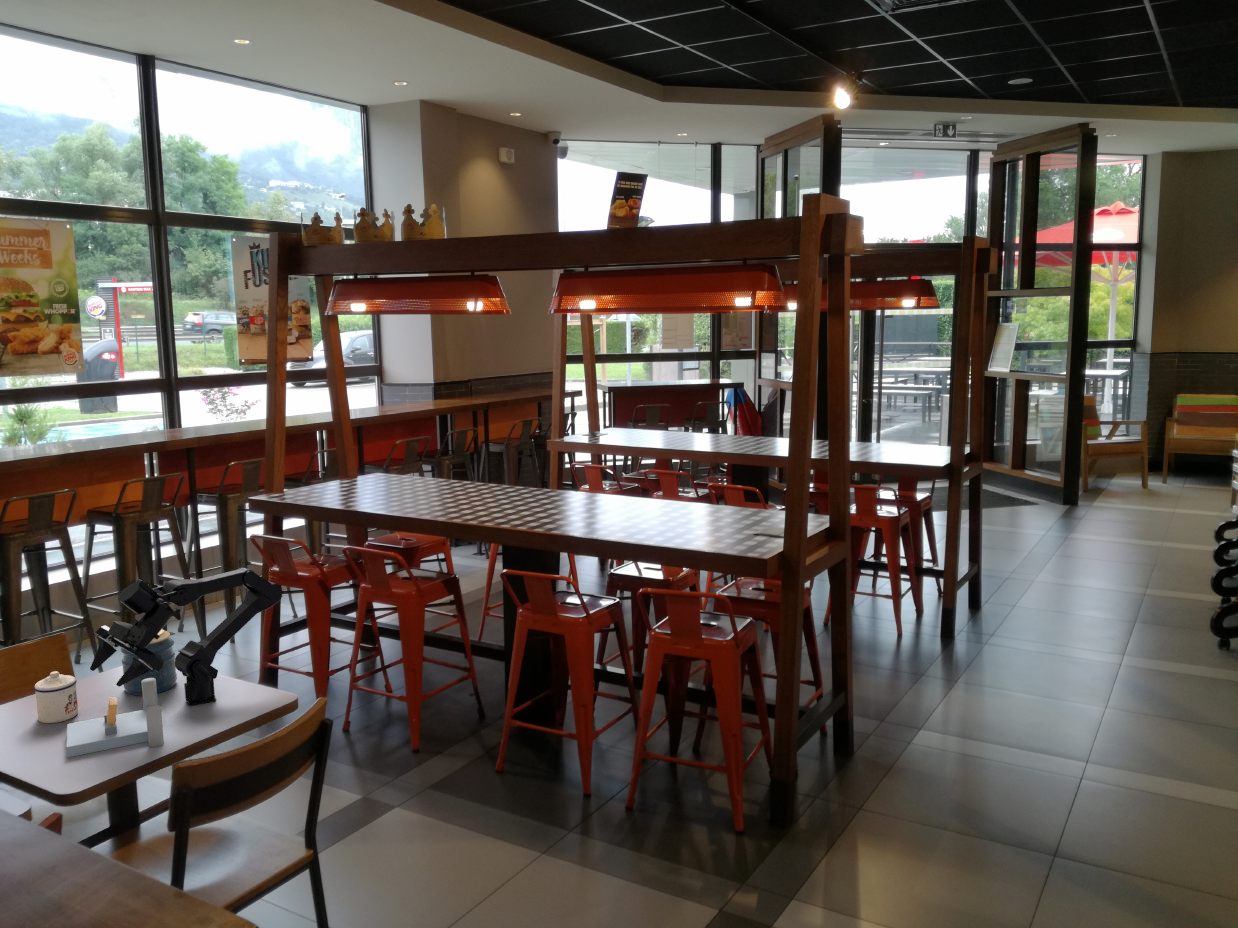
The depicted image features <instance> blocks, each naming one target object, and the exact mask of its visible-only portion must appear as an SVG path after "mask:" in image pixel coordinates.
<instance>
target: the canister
mask: <svg viewBox="0 0 1238 928" xmlns="http://www.w3.org/2000/svg"><path fill="white" fill-rule="evenodd" d="M158 635H159V636H160V637H159V638H158V639H155V638H154V639H153V640H152V641H151V642H150V644H149V645H148V646H147V647H146V649H148V650H149V651H151V652H153V653H155V654H156V655H157V656H159V657H160V658H161V659H162V660H163V661H164V664H163V667H162V668H161V669H160V671H159V672H157V671H156V670H154V669H152V670H153V672H152V673H151V672H148V673H146V674H144V675H141V676H139V677H137V678H135V679H133V680H131V681H129V682H127V683H125V684H124V685H123V688H124V691H125V693H126V694H128V695H131V696H143V694H142V682H141V681H142V680H144V679H147V678H155V679H156V690H157V694H159V693H162V692H166V691H168V690H170V689H171V688H173V687H174V686H175V685H177V679H178V676H177V675H178V674H177V669H176V667H175V658H176V652H175V651H174V649H173V646H174V644H175V640H174V639H173V638H170V637H171V633H170V632H169V631H167V630H165V629H163V628H162V629H161V631H160V632H159V633H158ZM127 645H128V644H127ZM126 647H127V646H126ZM133 649H134V650H136V648H135V647H134V648H133ZM119 651H120V652H121V653H122V655H123V656H122V659H121V664H122V673H123V674H124V673H125V672H126V671H127V670H128V668H129V667H130V666H131V664H132V660H133V657H134V658H136V659H137V660H139V658H138V657H137V656H136V655H134V654H132V653H130V652H129V651H127V650H125V649H123V648H122V647H120V650H119ZM123 674H122V675H123Z"/></svg>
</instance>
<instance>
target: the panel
mask: <svg viewBox="0 0 1238 928" xmlns="http://www.w3.org/2000/svg"><path fill="white" fill-rule="evenodd" d="M66 726H67V727H66V731H67V732H66V757H67V758H72V757H76V756H82V755H86V754H91V753H96V752H101V751H106V750H111V749H116V748H121V747H126V746H131V745H136V744H141V743H145V742H146V743H147V742H148V732H147V720H146V709H145V710H144V709H139V710H134V711H130V712H124V713H119V714H116V720H115V724H107V712H104V713H103V716H102V717H96V718H92V719H87V720H81V721H75V722H70V723H67V725H66Z"/></svg>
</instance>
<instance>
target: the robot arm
mask: <svg viewBox="0 0 1238 928" xmlns="http://www.w3.org/2000/svg"><path fill="white" fill-rule="evenodd" d="M241 586H243V587H244V588H245V589H247V590H248V591H247V592H246V595H245V597H244V599H243V601H242V603H240V605H239V606H238V607H236V609H234V610H233V611H232V612H231V613H230V614H229V615H227V617H226V618H224V619H223V620H222V622H220V623H219V624H218V625H216V627H215V628H214V629H213V630H212V631H211V632H209V634H207V636H205V637H204V638H203V639H202V640H200V641H197V642H196V641H195V640H189V641H188V642H187V643H186V645H185V646H184V647H182V648H181V649H179V650H178V653H177V655H175V668H176V671H177V670H178V672H181V674H182V676H184V677H186V678H185V681H186V682H185V683H184V684H183V685H184V698H185V702H188V706H195V705H200V704H201V705H202V704H204V703H210V702H215V700H216V701H217V698H216V694H215V682H214V681H215V679H216V678H217V677H218V672H219V670H218V669H217V668H215V667H213V665H212V664H213V662H214V660H215V658H216V655H217V653H218V652H219V651H220V650H221V648H223V647H224V646H225V645H226V644H227V643H228V642H229V641H230V640H231V639H232V638H233V637H234V636H236V634H237V633H238V632H239V631H240V630H242V628H244V627H245V626H246V625H247V624H248V623H249V622H250V621H251V620H252V619H253V618H254V617H255V616H256V615H257V614H260V613H261V612H264V611H266V610H269V609H271V608H272V607H274V605H276V604H278V603H280V601H281V600H282V598H283V589H282V586H281V585H280V584H277V583H275V582H272V581H269V580H266V579H265V578H264V577H262V576H260V575H258V574H257V573H256V572H255V571H254V570H252V569H249V568H245V567H239V568H238V569H235V570H230V571H227V572H223V573H222V572H221V573H217V574H215V575H209V576H206V577H202V578H196V579H184V578H183V579H182V578H181V579H170V580H168V581H166V582H165V583H164V585H160V586H158V587H154V588H151V587H150V586H149V585H148V584H147V583H146V582H145V581H144V580H142V579H137V580H136V581H135V582H133V583H130V584H128V586H127V587H124V588H123V589H122V590H121V592H120V593H119V595H118V601H119V602H120V603H121V604H122V605H124V606H125V607H127V608H128V609H129V610H131V611H132V612H133V613H135V614H136V615H141V614H143V615H142V616H141V617H139V619H138V620H137V619H136V618H134V619H132V621H130V623H127V622H126V621H117V620H113V621H112V623H111V625H110V627H109V626H107V625H102V626H100V627H98V628H97V630H96V631H95V632H94V634H95V635H97V636H96V637H95V638H96V640H97V642H98V644H97V645H98V646H97V650H96V654H94V655H95V656H94V658H93V660H92V663H91V665H90V668H89V669H90V671H92V672H94V671H96V670H97V669H98V668H99V667H100V666H102V665H103V664H104V663H105V662H106V661H107V660H108V659H109V658H110V657H112V656H113V655H114V654H115V653H116V652H117V651H118V650H117V649H116V648H118V647H120V648H121V647H122V648H123V649H125V650H127V651H129V652H130V653H132V654H134V655H136V656H137V657H138V658H139V660H137V659H136V658H134V657H133V660H132V664H131V666H130V667H129V668H128V670H127V671H126V672H125V673H124V674H122V675H121V677H120V678H119V680H117V682H116V684H115V685H116V687H118V688H120V687H122V686H124V684H125V683H127V682H129V681H131V680H133V679H135V678H137V677H139V676H141V675H144V674H146V673H148V672H151V673H152V672H153V670H152V669H154V670H156V671H157V672H159V671H160V669H161V668H162V667H163V664H164V661H163V660H162V659H161V658H160V657H159V656H157V655H156V654H155V653H153V652H151V651H149V650H148V649H146V647H147V646H148V645H149V644H150V642H151V641H152V640H153V639H154V638H155V639H158V638H159V637H160V636H159V635H158V633H159V632H160V631H161V629H163V628H164V627H165V626H166V625H167V623H169V621H170V620H171V619H175V620H177V621H181V619H182V616H181V609H180V608H178V607H185V606H187V605H190V604H192V603H194V602H197V601H198V600H199V599H200V598H202V597H203V596H206V595H210V594H213V593H217V592H218V593H219V592H221V591H225V590H229V589H232V588H237V587H241ZM159 600H160V601H162V602H159ZM170 604H172V605H174V606H176V607H172V606H171V605H170ZM177 606H178V607H177ZM127 644H128V645H127ZM126 646H127V647H126ZM134 647H135V648H136V650H134V649H133V648H134Z"/></svg>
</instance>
